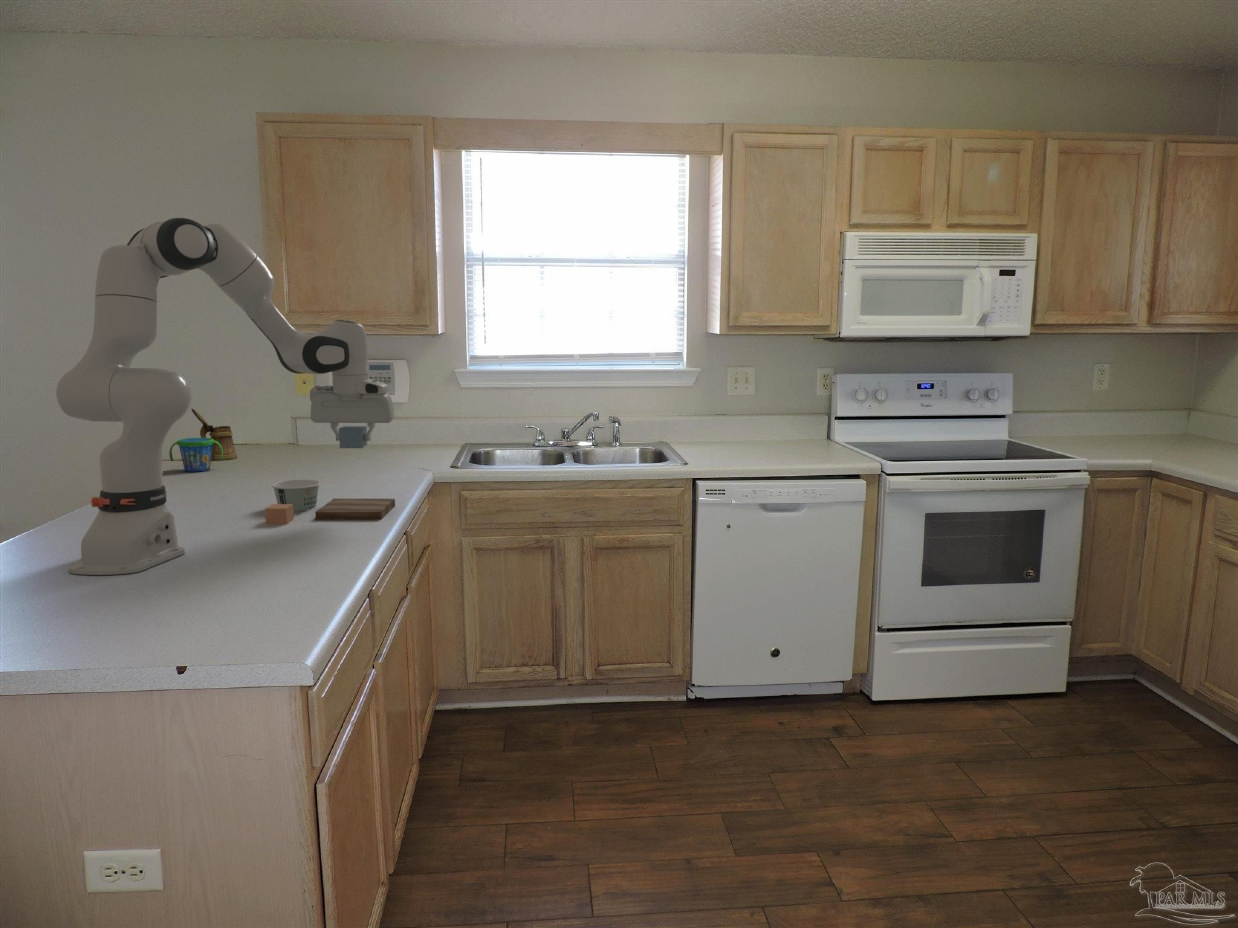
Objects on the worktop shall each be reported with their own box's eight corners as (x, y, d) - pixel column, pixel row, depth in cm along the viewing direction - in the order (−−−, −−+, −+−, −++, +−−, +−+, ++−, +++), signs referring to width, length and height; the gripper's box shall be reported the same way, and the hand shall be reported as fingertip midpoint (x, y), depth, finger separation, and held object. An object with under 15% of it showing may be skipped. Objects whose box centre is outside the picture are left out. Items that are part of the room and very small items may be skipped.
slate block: (361, 448, 218) (361, 428, 218) (339, 448, 218) (338, 428, 217) (367, 445, 224) (366, 425, 223) (345, 445, 224) (344, 425, 223)
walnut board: (380, 519, 216) (380, 511, 216) (315, 519, 216) (315, 511, 215) (395, 505, 232) (394, 498, 232) (334, 505, 231) (334, 498, 231)
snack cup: (226, 467, 290) (224, 436, 288) (220, 472, 279) (218, 441, 278) (175, 468, 286) (173, 437, 284) (167, 474, 276) (164, 442, 274)
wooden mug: (196, 457, 308) (192, 407, 305) (237, 456, 312) (234, 406, 309) (193, 461, 299) (189, 409, 296) (236, 459, 304) (233, 408, 301)
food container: (305, 513, 222) (304, 488, 221) (263, 511, 224) (261, 486, 223) (330, 504, 234) (329, 480, 233) (289, 502, 236) (288, 478, 235)
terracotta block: (287, 524, 211) (286, 508, 210) (266, 524, 211) (265, 508, 210) (293, 519, 216) (293, 504, 215) (273, 519, 216) (272, 504, 215)
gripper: (305, 386, 215) (308, 442, 217) (388, 387, 216) (390, 442, 218) (313, 384, 221) (315, 438, 223) (394, 385, 222) (396, 438, 224)
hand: (353, 440), depth 221 cm, fingers closed on slate block, 5 cm apart
